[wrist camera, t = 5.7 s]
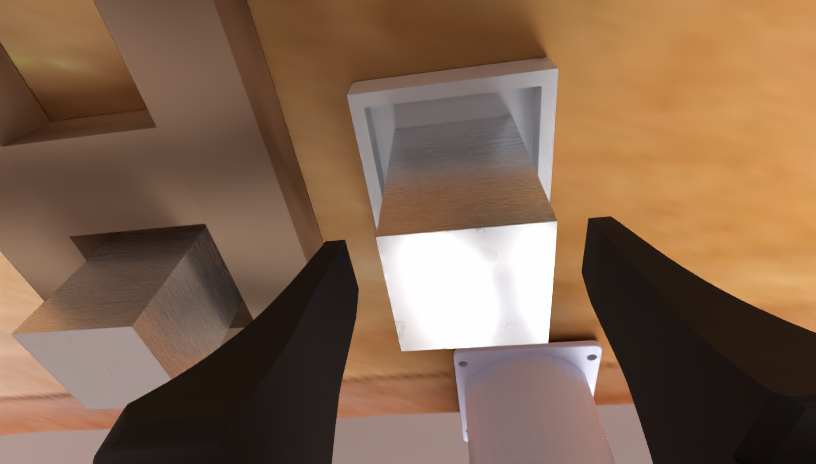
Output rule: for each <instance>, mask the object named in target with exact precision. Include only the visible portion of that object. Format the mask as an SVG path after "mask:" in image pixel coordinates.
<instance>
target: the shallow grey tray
mask: <svg viewBox="0 0 816 464" xmlns="http://www.w3.org/2000/svg"><path fill="white" fill-rule="evenodd" d="M557 83H558V67H557V66H556V65H555V64H554V63H553V62H552V61H551V60H550V58H549V57H542V58H534V59H527V60H519V61H511V62H504V63H496V64H488V65H481V66H473V67H465V68H458V69H450V70H442V71H435V72H427V73H419V74H412V75H404V76H396V77H389V78H381V79H373V80H366V81H358V82H353V83H352V86H351V88H350V90H349V92H348V94H347V99H348V103H349V108H350V112H351V117H352V121H353V126H354V130H355V135H356V139H357V144H358V148H359V153H360V157H361V162H362V167H363V171H364V176H365V180H366V185H367V189H368V194H369V198H370V203H371V207H372V212H373V216H374V221H375V225H376V230H377V227H378V221H379V215H380V210H381V204H382V198H383V193H384V187H385V181H386V175H387V170H388V164H389V158H390V153H391V147H392V141H393V135H394V130H395V128H403V127H411V126H420V125H429V124H437V123H446V122H454V121H463V120H472V119H480V118H489V117H497V116H506V115H512V116H513V119H514V121H515V123H516V126H517V128H518V130H519V133H520V135H521V137H522V140H523V142H524V144H525V147H526V149H527V151H528V154H529V156H530V158H531V161H532V163H533V165H534V168H535V170H536V172H537V175H538V177H539V179H540V182H541V184H542V186H543V189H544V191H545V193H546V196H547V198H548V200H549V203H550V193H551V177H552V161H553V146H554V130H555V114H556V98H557Z"/></svg>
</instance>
